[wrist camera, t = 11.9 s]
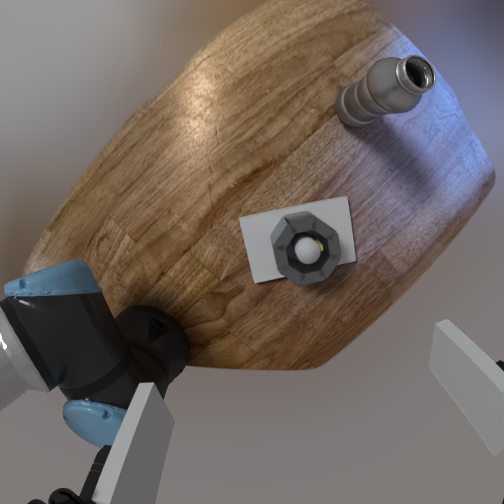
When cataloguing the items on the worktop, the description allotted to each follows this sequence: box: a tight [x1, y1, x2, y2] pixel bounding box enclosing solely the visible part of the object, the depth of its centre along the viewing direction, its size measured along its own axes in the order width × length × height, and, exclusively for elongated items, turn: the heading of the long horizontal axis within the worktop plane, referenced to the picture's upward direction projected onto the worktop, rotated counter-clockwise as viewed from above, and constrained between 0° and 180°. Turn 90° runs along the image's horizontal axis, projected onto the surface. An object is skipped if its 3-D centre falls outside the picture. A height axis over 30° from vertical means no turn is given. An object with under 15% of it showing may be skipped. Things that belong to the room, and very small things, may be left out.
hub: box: [270, 211, 342, 286], centre depth 39 cm, size 8×8×6 cm
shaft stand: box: [239, 196, 356, 283], centre depth 40 cm, size 16×10×8 cm, turn 102°
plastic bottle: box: [335, 55, 436, 127], centre depth 28 cm, size 6×7×20 cm
